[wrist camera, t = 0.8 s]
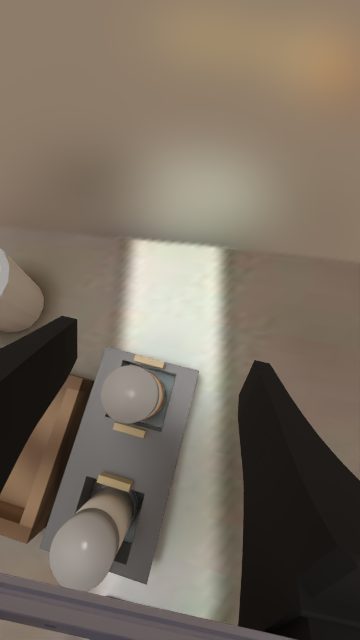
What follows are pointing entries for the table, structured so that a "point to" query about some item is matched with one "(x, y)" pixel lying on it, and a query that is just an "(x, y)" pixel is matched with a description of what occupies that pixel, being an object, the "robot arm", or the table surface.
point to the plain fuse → (92, 538)
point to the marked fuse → (132, 394)
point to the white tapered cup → (17, 297)
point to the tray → (43, 463)
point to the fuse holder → (126, 461)
